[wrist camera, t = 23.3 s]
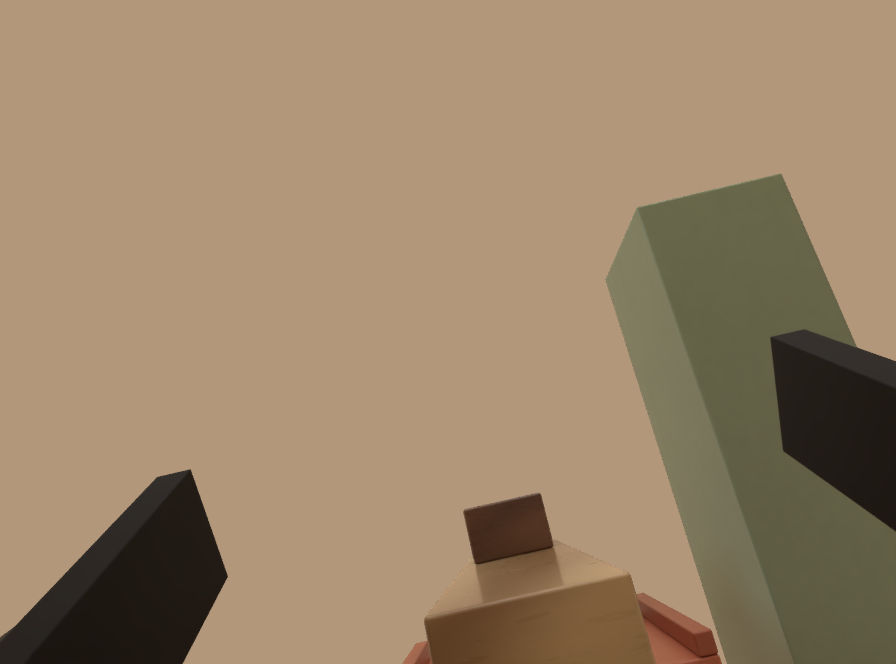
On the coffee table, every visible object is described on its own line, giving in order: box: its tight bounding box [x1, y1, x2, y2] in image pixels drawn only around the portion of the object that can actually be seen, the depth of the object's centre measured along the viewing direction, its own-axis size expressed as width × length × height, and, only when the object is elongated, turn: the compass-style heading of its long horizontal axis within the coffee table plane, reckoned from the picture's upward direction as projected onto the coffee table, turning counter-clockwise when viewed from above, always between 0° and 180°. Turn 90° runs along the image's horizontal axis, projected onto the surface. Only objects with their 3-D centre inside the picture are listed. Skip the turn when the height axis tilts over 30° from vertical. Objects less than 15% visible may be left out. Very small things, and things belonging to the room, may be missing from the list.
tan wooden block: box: [424, 493, 656, 664], centre depth 20 cm, size 4×18×5 cm, turn 175°
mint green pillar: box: [606, 174, 896, 664], centre depth 24 cm, size 6×8×33 cm
